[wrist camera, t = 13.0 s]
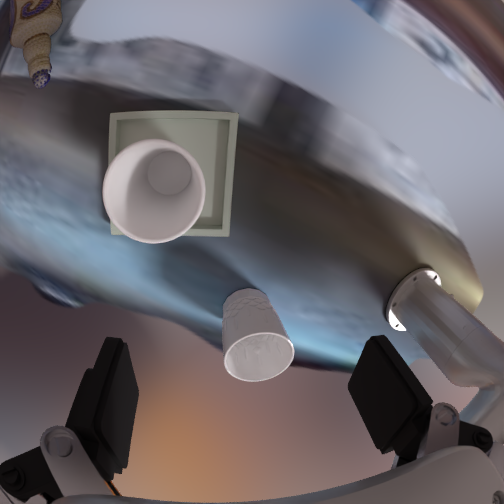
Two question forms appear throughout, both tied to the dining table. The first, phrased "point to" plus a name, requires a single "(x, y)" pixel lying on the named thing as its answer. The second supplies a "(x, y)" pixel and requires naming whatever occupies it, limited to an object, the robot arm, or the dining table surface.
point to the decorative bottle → (35, 34)
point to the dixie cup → (154, 191)
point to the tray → (198, 145)
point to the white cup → (254, 337)
